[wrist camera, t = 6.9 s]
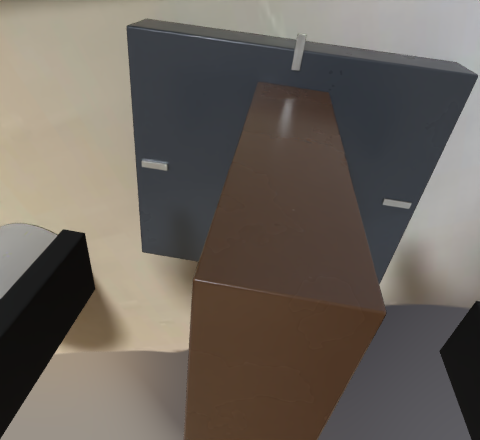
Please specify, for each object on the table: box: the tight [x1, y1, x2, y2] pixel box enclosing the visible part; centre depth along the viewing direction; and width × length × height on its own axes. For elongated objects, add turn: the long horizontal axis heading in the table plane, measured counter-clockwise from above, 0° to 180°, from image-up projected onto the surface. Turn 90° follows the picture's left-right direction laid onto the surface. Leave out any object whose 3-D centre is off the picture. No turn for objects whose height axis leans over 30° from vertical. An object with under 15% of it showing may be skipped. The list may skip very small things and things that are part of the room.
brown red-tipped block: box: [184, 82, 386, 440], centre depth 14 cm, size 10×3×13 cm, turn 173°
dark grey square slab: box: [127, 19, 478, 284], centre depth 20 cm, size 15×14×3 cm
